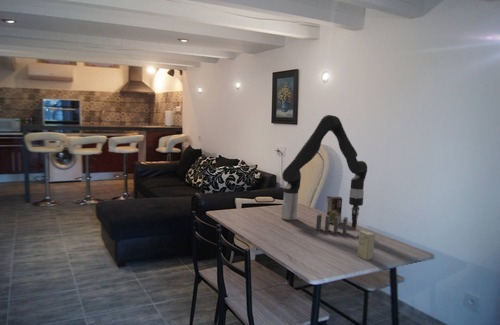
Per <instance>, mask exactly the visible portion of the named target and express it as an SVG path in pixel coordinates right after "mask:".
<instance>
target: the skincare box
mask: <svg viewBox="0 0 500 325" xmlns="http://www.w3.org/2000/svg"><path fill="white" fill-rule="evenodd" d="M358 235H359V236H358V246H357V257H360V258H361V259H363V260H366V261H367V260H368V261H369V260H373V257H374V251H375V250H374V249H375V241H376V239H375V238H376V233H374V232H371V231H368V230H360V231H359V234H358Z"/></svg>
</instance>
